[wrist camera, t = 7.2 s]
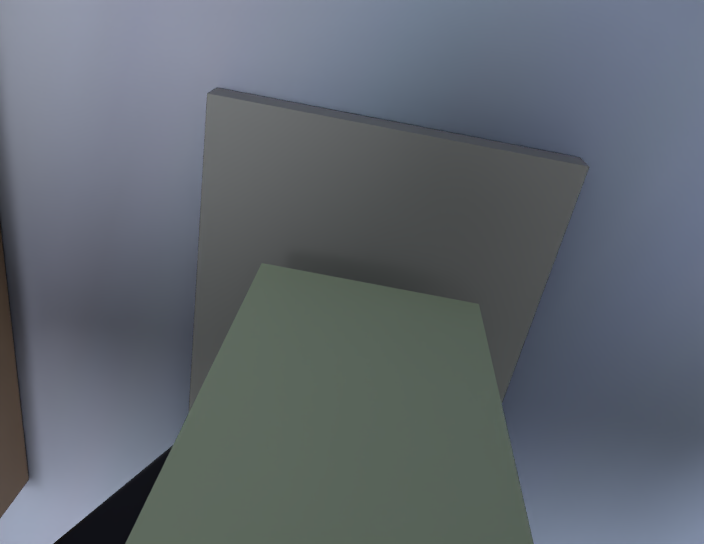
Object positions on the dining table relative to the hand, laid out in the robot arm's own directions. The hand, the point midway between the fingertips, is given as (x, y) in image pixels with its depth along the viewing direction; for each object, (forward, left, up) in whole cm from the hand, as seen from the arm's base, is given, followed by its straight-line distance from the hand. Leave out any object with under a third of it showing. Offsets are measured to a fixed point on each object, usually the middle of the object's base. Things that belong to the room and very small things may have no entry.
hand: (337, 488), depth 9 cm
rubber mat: (0, 0, -5) cm, 5 cm away
